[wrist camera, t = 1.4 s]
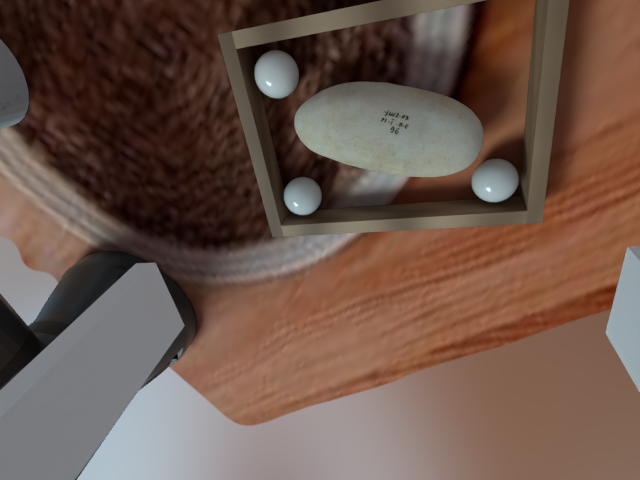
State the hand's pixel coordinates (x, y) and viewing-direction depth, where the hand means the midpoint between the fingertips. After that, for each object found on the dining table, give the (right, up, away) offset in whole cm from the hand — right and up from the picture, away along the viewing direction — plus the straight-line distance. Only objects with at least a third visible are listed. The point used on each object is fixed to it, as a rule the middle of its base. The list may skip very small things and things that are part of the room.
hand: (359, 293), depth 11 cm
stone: (+4, +10, +17) cm, 20 cm away
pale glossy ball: (-2, +6, +20) cm, 21 cm away
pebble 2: (+11, +7, +17) cm, 21 cm away
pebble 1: (-4, +14, +16) cm, 21 cm away
